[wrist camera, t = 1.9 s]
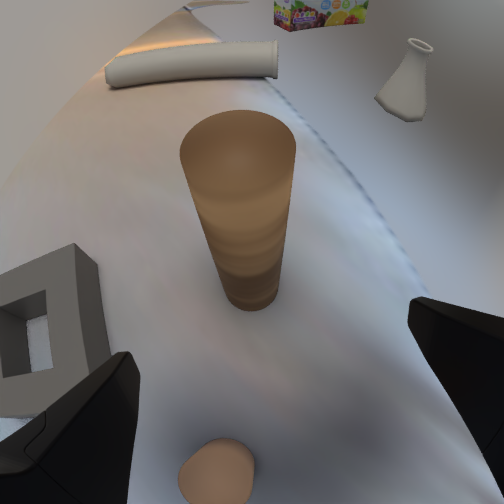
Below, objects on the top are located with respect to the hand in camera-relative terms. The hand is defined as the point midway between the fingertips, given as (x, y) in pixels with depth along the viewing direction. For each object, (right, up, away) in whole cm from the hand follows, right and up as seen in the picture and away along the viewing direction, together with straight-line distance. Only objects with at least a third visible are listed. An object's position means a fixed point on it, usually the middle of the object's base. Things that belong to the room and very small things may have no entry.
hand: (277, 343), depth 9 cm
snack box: (+14, +48, +37) cm, 63 cm away
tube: (-10, +27, +28) cm, 40 cm away
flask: (+19, +22, +24) cm, 37 cm away
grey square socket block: (-18, -5, +12) cm, 22 cm away
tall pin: (-1, 0, +14) cm, 14 cm away
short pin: (-3, -12, +8) cm, 15 cm away
